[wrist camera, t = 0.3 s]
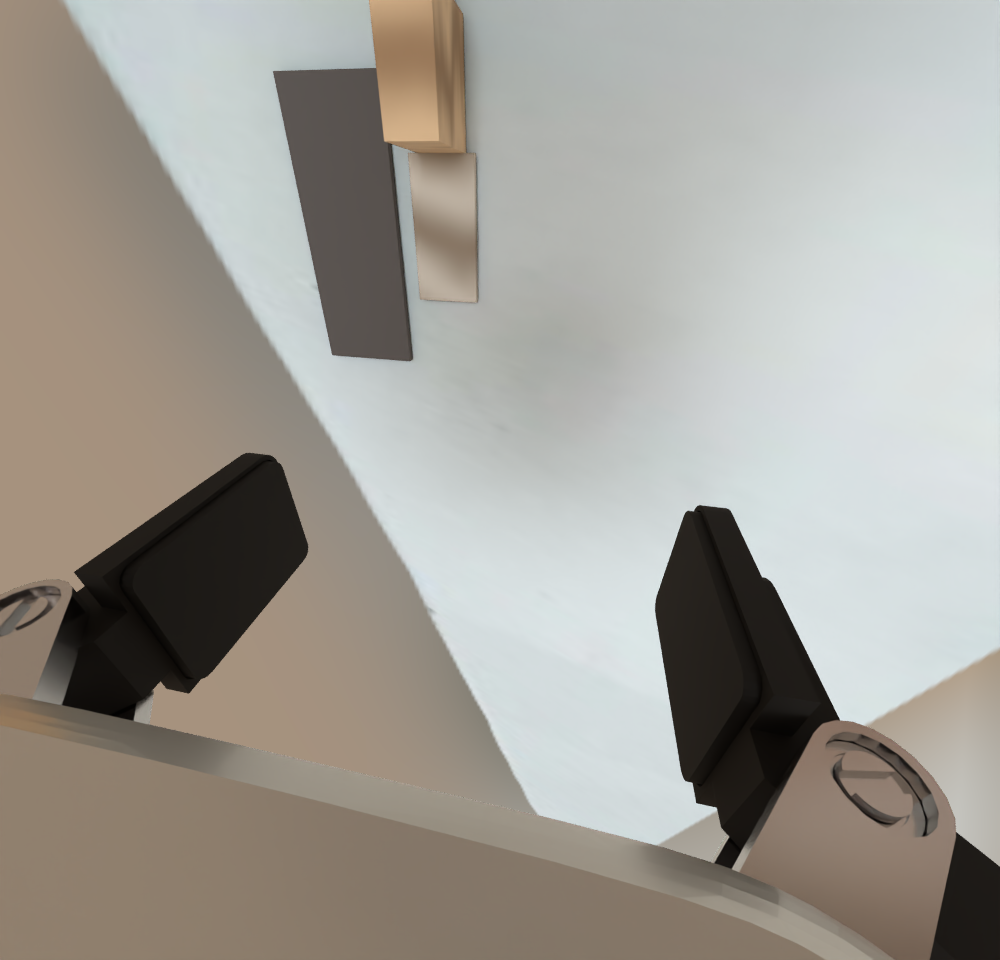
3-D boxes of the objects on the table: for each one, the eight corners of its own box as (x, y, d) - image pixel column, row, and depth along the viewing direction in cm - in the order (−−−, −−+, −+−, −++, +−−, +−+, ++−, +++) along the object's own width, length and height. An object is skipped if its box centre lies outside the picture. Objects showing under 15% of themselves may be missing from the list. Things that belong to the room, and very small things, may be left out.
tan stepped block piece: (399, 16, 27) (352, -32, 21) (474, 13, 26) (444, -39, 21) (422, 298, 36) (393, 313, 31) (477, 301, 35) (457, 317, 30)
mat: (278, 73, 29) (273, 71, 29) (383, 70, 28) (379, 68, 28) (335, 353, 40) (332, 355, 40) (412, 359, 39) (410, 361, 39)
